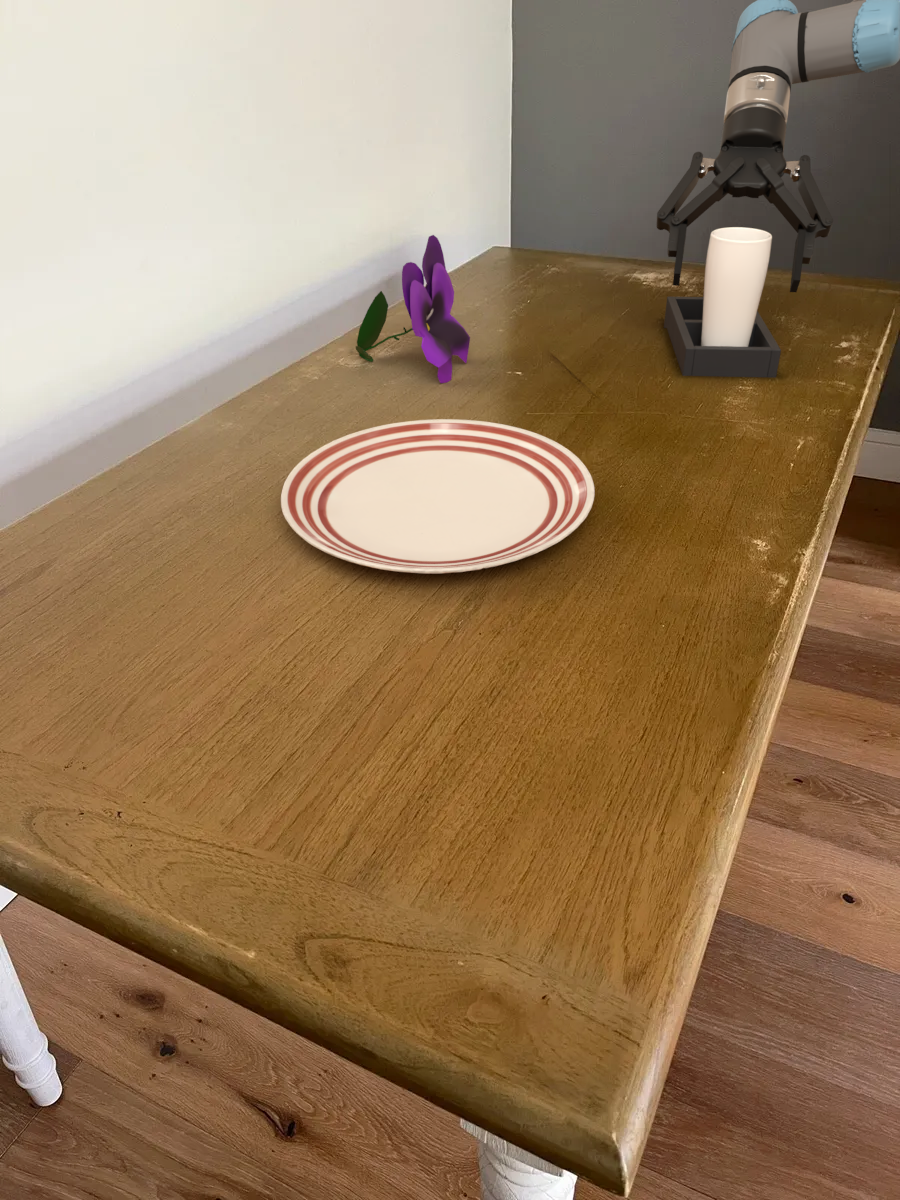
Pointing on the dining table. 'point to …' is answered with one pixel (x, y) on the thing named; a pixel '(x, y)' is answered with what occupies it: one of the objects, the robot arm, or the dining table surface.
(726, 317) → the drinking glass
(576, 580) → the dining table surface
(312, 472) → the dinner plate
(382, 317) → the flower
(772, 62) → the robot arm
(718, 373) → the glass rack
